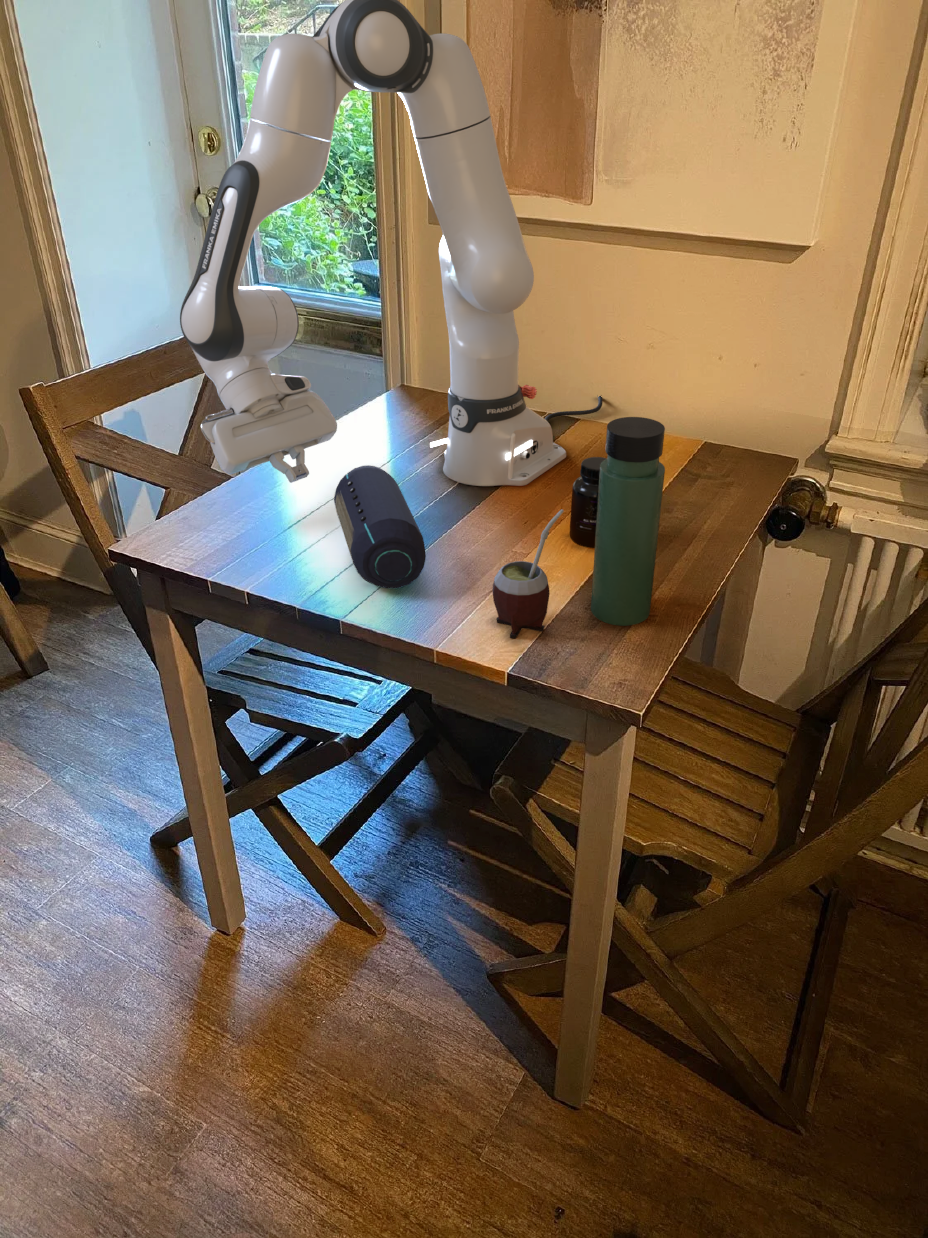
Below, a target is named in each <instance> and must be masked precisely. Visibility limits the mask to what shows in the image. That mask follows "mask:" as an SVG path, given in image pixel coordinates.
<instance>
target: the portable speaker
mask: <svg viewBox="0 0 928 1238" xmlns="http://www.w3.org/2000/svg"><path fill="white" fill-rule="evenodd" d="M333 502H334V507H335V511H336V516H337V517H338V521H339V524H340V527H341V530H342V533H343V536H344V540H345V542H346V545H347V549H348V551H349V554H350V555H349V556H350V557H351V561H352V564H353V566H354V568H355V570H356V572H357V574H358V575H359V576H360V577H361V578H362V579H363V580H364V581H366V582H367V583H369V584H372V585H374V586H376V587H379V588H383V589H400V588H403V587H406V586H408V585H411V584H412V583H413V582H415V581H416V580H417V579H418V578H419V577H420V575H421V574H422V571H423V569H424V568H425V564H426V557H427V554H426V546H425V545H426V544H425V540H424V536H423V534H422V532H421V530H420V528H419V525H418V524H417V521H416V520H415V517H414V516H413V513H412V512H411V509H410V507H409V505H408V503H407V500H406V498H405V496H404V495H403V492H402V489H401V487H400V486H399V484H398V482H397V480H395V478H394V477H393V476H392V475H391V474H390V473H388V472H387V470H384V469H383V468H381V467H379V466H376V465H361V466H357V467H354V468H352V470H349V471H348V472H347V473H346V474H345V475H344V476H343V477H342V478H341V479H340V480H339V482H338V484H337V486H336V488H335V492H334V497H333Z"/></svg>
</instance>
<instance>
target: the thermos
mask: <svg viewBox="0 0 928 1238" xmlns="http://www.w3.org/2000/svg"><path fill="white" fill-rule="evenodd" d="M665 431H666V428H665V425H664V424H663V423H662V422H660V421H659V420H656V419H652V418H648V417H642V416H625V417H619V418H615V419H613V420H611V421H609V422H607V425H606V436H605V449H604V450H605V453H606V455H607V457H606V458H607V459H606V460H604V461H603V462H602V463H601V465H600V475H599V490H598V505H597V521H596V536H595V548H594V550H593V551H594V552H593V555H594V556H593V566H592V567H593V568H592V571H593V572H592V584H591V600H590V612H591V613H592V615H593V616H594V617H595V618H596V619H597V620H599V621H601V622H603V623H606V624H609V625H612V626H621V627H622V626H623V627H625V626H627V627H629V626H634V625H638V624H640V623H643V622H645V621H646V620H647V619H648V618H649V616H650V614H651V605H652V596H653V587H654V578H655V569H656V560H657V559H656V558H657V549H658V540H659V530H660V520H661V512H662V511H661V510H662V502H663V501H662V500H663V493H664V484H665V483H664V482H665V473H666V468H665V465H664V464H663V463H662V462H661V461H660V457H662V455H663V450H664V443H665V441H664V440H665Z"/></svg>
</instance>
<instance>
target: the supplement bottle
mask: <svg viewBox="0 0 928 1238" xmlns="http://www.w3.org/2000/svg"><path fill="white" fill-rule="evenodd" d="M606 459H607V457H601V456H591V457H587V458H584V459H583V460H582V461H581V464H580V471H579V475H580V476H579V477H577V478H576V479H575V480H574V482H573V483H572V488H571V502H570V503H571V504H570V515H569V516H570V517H569V538H570V540H571V541H572V542H573V543H574V544H576V545H578V546H579V547H583V548H587V549H595V536H596V521H597V505H598V490H599V475H600V465H601V463H602V462H603V461H604V460H606Z"/></svg>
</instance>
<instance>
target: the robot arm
mask: <svg viewBox="0 0 928 1238" xmlns="http://www.w3.org/2000/svg"><path fill="white" fill-rule="evenodd" d="M354 90H358V91H362V92H367V93H397V94H398V96H399V97H400V98H401V100H402V101H403V103H404V105H405V108H406V111H407V112H408V116H409V119H410V120H409V121H410V126H411V130H412V134H413V139H414V142H415V145H416V150H417V154H418V158H419V162H420V166H421V169H422V174H423V177H424V181H425V186H426V190H427V194H428V197H429V199H430V202H431V204H432V207H433V210H434V213H435V215H436V217H437V221H438V224H439V226H440V229H441V232H442V237H441V239H440V242H439V245H438V246H439V247H438V259H439V266H440V276H441V287H442V296H443V304H444V311H445V312H444V313H445V318H446V326H447V331H448V346H449V374H450V375H449V376H450V377H449V378H450V386H449V388H448V390H447V391H448V392H447V407H448V408H447V409H448V413H449V418H448V429H447V437H446V438H445V437H444V438H441V439H439V440H435V441H431V442H430V443H429V447H430V448H434V447H438V446H441V445H444V444H445V445H446V449H445V450H444V453H443V455H444V456H443V457H444V462H443V467H442V473H443V474H444V475H445V477H447V478H448V479H450V480H451V481H454V482H457V483H460V484H463V485H469V486H475V487H476V486H478V487H494V486H516V487H523V486H527V485H528V484H530V483H531V482H533V481H534V480H536V479H537V478H538V477H540V476H541V475H543V474H544V473H545V472H547V471H549V470H550V469H551V468H554V467H555V466H556V465H557V464H559V463H560V462H562V461H563V460H565V459H566V458H567V451H566V450H565V448H563V447H562V446H561V445H559V444H558V443H555V442H554V437H553V429H552V426H551V424H550V423H549V421H550V420H551V419H553V418H557V417H564V416H565V417H567V416H583V415H586V416H587V415H592V414H595V413H597V412H599V411H600V410H601V409H602V407H603V396H602V395H601V396H602V397H601V396H599V397H598V396H597V406H596V407H594V408H590V409H585V410H584V409H583V410H565V411H564V410H563V411H556V412H553V413H550V414H548V415H546V416H545V418H544V417H543V416H541V415H540V414H538V413H537V412H535V411H534V410H533V409H531V408H530V407H529V406H527V403H526V401H525V398H527V399H529V400H534V399H535V398H536V395H538V393H537V392H538V391H537V390H538V389H537V388H536V387H535V386H531V385H529V384H525V385H523V386H520V384H519V381H520V379H519V377H520V376H519V375H520V339H519V334H518V330H517V326H516V325H517V324H516V320H515V313H514V311H515V310H517V309H519V308H520V307H521V306H522V305H523V304H524V303H525V302H526V301H527V300H528V298H529V297H530V294H531V292H532V289H533V286H534V281H535V275H534V273H535V272H534V268H533V265H532V262H531V258H530V256H529V254H528V250H527V247H526V244H525V240H524V237H523V233H522V230H521V226H520V223H519V219H518V217H517V214H516V210H515V207H514V204H513V201H512V199H511V196H510V193H509V190H508V187H507V183H506V180H505V177H504V172H503V169H502V164H501V160H500V155H499V149H498V144H497V140H496V135H495V131H494V126H493V121H492V116H491V111H490V108H489V107H490V106H489V103H488V102H489V101H488V98H487V94H486V91H485V88H484V85H483V81H482V78H481V75H480V72H479V70H478V67H477V63H476V61H475V59H474V56H473V54H472V51H471V48H470V47H469V45H468V44H467V42H466V41H465V40H463V38H461V37H459V36H458V35H455V34H451V33H443V32H442V33H441V32H440V33H433V34H430V35H429V34H428V32H427V31H426V30H425V29H424V27H423V26H422V25H421V23H419V21H418V20H417V19H416V18H415V15H413V13H412V12H411V11H410V10H409V9H408V8H407V7H406V6H405V4H403V3H402V2H401V1H400V0H343V1H342V2H341V3H339V4H338V5H337V6H336V7H335V8H334V9H333V10H332V11H331V12H330V13H329V15H328V16H327V18H326V19H325V20H324V21H323V23H322V24H321V25H320V27H319V28H318V29H317V30H316V31H315V33H314V34H313V35H312V36H310V35H306V34H302V33H285V34H281V35H278V36H277V37H275V38H273V40H271V42H270V43H269V44H268V46H267V48H266V51H265V54H264V56H263V60H262V63H261V66H260V70H259V73H258V76H257V80H256V83H255V88H254V92H253V97H252V102H251V109H250V115H249V119H248V126H247V130H246V134H245V137H244V141H243V143H242V146H241V149H240V151H239V152H238V155H237V157H236V159H235V160H234V162H233V164H231V165H230V166H229V167H228V168H227V169H226V171H225V172H224V174H223V175H222V178H221V181H220V183H219V185H218V188H217V192H216V195H215V199H214V202H213V206H212V209H211V213H210V216H209V221H208V224H207V228H206V231H205V235H204V240H203V242H202V243H203V244H202V246H201V251H200V253H199V259H198V262H197V266H196V270H195V273H194V276H193V279H192V281H191V284H190V286H189V288H188V290H187V292H186V293H185V297H184V298H183V301H182V303H181V307H180V311H179V325H180V326H179V327H180V329H181V333H182V335H183V337H184V339H185V341H186V342H187V344H188V346H190V348H191V350H192V352H193V354H194V356H195V358H196V359H197V361H198V364H199V365H200V367H201V369H202V370H203V371H204V372H203V373H205V375H206V377H208V378H209V380H211V381H212V382H213V385H214V386H215V388H216V393H217V395H218V398H219V399H220V401H221V403H222V404H223V406H224V408H225V409H223V410H220V411H219V412H216V413H211V414H208V415H206V416H204V419H203V420H202V421H201V423H200V430H201V433H202V434H203V436H204V438H205V439H206V440H207V441H208V442H209V444H210V447H211V450H212V452H213V455H214V457H215V459H216V461H217V463H218V466H219V468H220V469H221V471H223V472H224V473H226V474H227V475H234V474H236V473H239V472H243V471H246V470H249V469H251V468H254V467H256V466H259V465H262V464H266V463H268V462H269V463H270V465H271V466H272V468H274V469H275V470H277V471H279V472H280V473H281V474H283V475H285V477H286V478H287V481H288V482H289V483H291V484H292V483H295V482H297V481H299V480H303V479H305V478H307V477H308V476H309V475H310V471H309V469H308V467H307V466H306V464H305V463H306V457H305V456H306V454H305V452H306V451H305V450H306V449H309V448H311V447H314V446H316V445H317V446H318V445H320V444H322V443H325V442H328V441H330V440H331V439H332V438H333V437H334V436H335V435H336V433H337V431H338V422H337V421H336V418H335V416H334V415H333V413H332V411H331V410H330V408H329V407H328V405H327V404H326V403H325V401H324V399H323V398H322V397H321V396H320V395H319V394H317V393H316V392H315V391H312V390H311V387H312V383H311V382H310V380H309V379H308V378H307V377H306V376H303V375H285V374H278V373H273V372H272V371H271V369H270V368H269V364H268V362H269V361H270V360H272V359H275V358H276V357H278V356H279V355H281V354H282V353H284V352H285V351H287V350H288V349H289V348H290V347H291V346H292V345H293V344H294V342H295V341H296V339H297V337H298V334H299V329H300V318H299V313H298V309H297V307H296V304H295V303H294V301H293V299H292V298H291V296H290V295H289V294H288V293H287V292H286V291H285V290H283V289H281V288H279V287H274V286H273V287H272V286H262V285H261V286H258V285H249V286H240V284H241V281H242V280H241V279H242V276H243V273H244V269H245V265H246V263H247V262H246V261H247V258H248V254H249V251H250V247H251V244H252V240H253V237H254V234H255V233H256V231H257V229H258V227H259V226H260V225H261V224H262V223H263V222H264V220H266V219H267V218H268V217H269V216H270V215H272V214H274V213H275V212H278V211H279V210H281V209H283V208H285V207H287V206H290V205H293V204H295V203H297V202H300V201H302V200H304V199H305V198H307V197H308V196H310V195H311V194H313V192H314V191H316V189H317V188H318V187H320V184H321V182H322V180H323V177H324V175H325V173H326V170H327V166H328V162H329V157H330V151H331V146H332V140H333V134H334V127H335V120H336V116H337V113H338V110H339V107H340V105H341V103H342V101H343V99H345V97H346V96H347V94H350V92H352V91H354ZM288 455H289V456H290V458H291V459H292V460H295V466H291V465H290V464H289V463H288V462H286V461H285V460H284V459H285V456H288Z"/></svg>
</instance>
